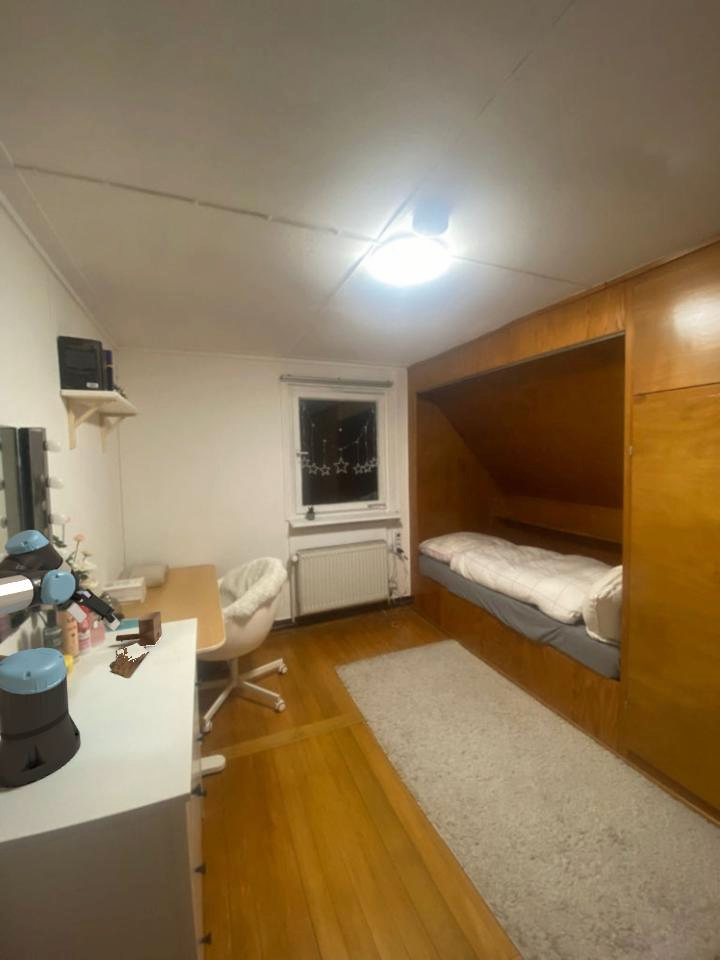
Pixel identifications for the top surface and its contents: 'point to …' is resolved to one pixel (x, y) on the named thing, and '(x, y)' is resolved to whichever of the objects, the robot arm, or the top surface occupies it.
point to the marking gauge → (146, 630)
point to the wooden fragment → (126, 664)
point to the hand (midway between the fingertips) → (99, 623)
